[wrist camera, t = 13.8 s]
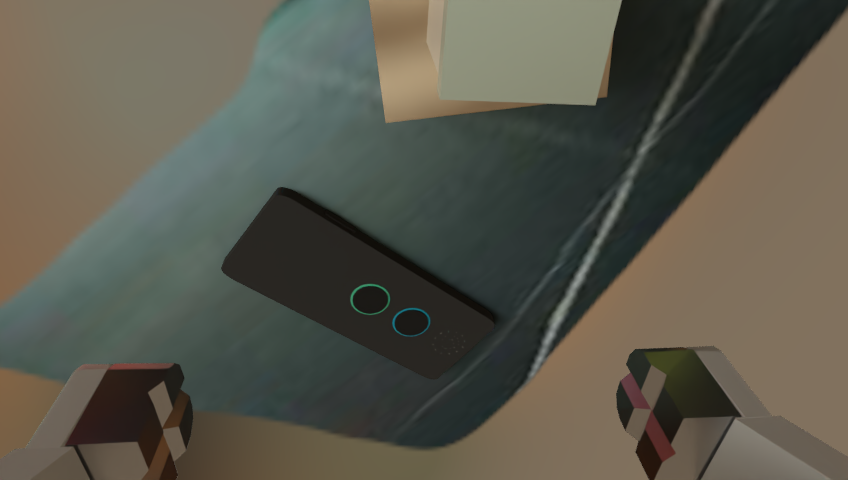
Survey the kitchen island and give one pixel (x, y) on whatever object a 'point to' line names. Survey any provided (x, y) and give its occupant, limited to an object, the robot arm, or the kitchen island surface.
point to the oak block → (421, 65)
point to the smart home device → (355, 286)
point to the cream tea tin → (521, 49)
